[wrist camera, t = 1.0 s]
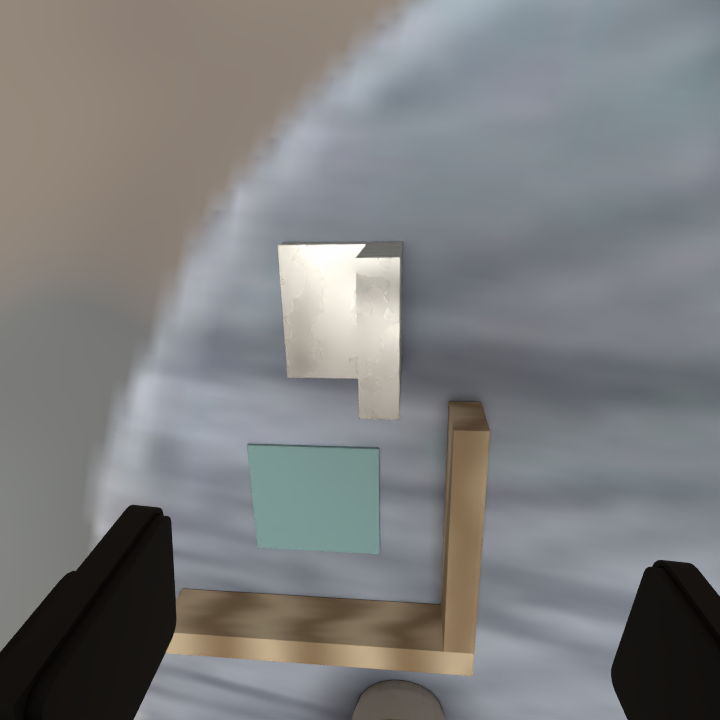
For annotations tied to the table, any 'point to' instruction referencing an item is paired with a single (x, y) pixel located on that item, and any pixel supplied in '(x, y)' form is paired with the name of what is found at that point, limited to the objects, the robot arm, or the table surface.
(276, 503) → the teal square plate
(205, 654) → the wooden l-shaped piece
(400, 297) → the bracket
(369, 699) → the coffee cup
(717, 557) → the table surface
